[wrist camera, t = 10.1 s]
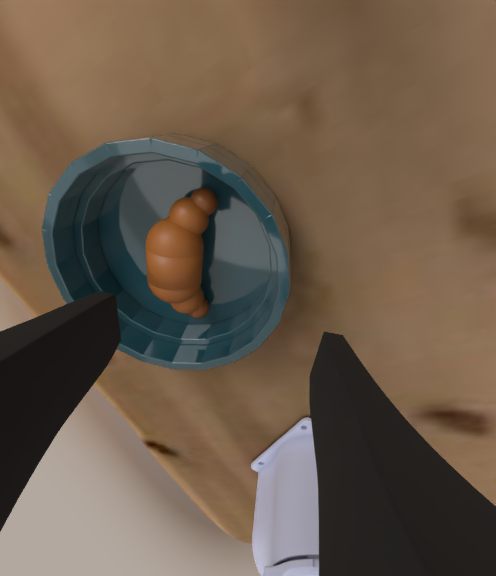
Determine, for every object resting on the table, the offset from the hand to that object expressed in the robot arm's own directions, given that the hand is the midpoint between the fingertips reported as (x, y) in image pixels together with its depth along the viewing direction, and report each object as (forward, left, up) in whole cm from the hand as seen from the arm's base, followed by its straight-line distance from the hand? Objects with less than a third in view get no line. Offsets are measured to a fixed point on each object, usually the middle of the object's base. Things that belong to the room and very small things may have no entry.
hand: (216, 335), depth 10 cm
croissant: (-3, +3, -9) cm, 10 cm away
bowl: (-3, +3, -9) cm, 10 cm away
